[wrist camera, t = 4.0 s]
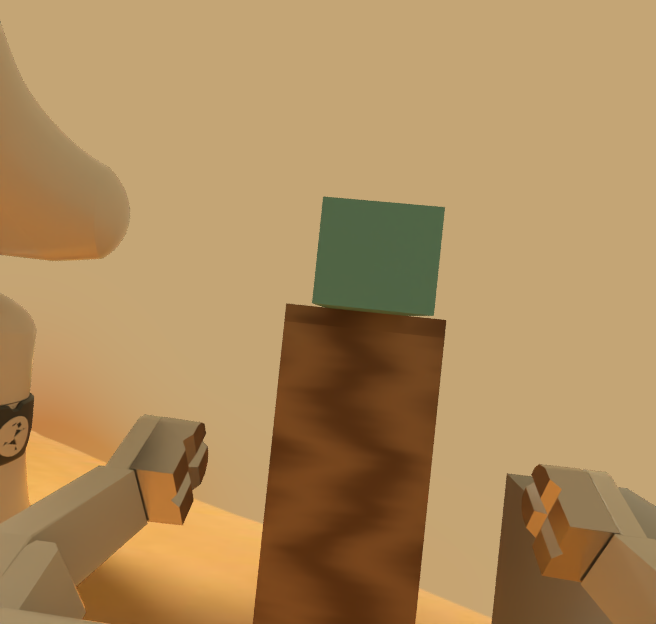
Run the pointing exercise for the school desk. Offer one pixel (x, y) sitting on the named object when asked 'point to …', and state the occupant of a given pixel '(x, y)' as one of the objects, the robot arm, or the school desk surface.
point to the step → (525, 577)
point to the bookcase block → (349, 468)
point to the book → (378, 257)
